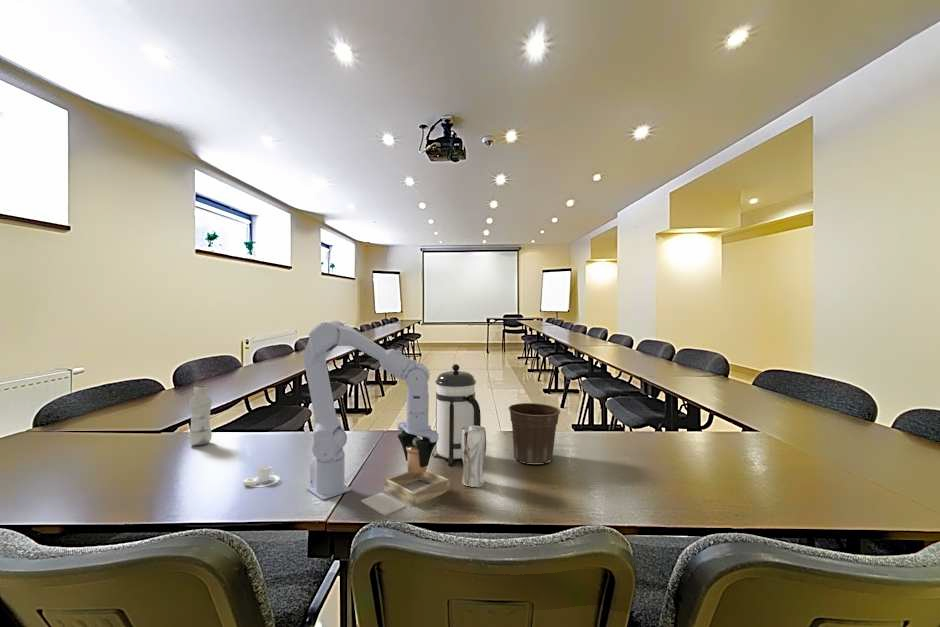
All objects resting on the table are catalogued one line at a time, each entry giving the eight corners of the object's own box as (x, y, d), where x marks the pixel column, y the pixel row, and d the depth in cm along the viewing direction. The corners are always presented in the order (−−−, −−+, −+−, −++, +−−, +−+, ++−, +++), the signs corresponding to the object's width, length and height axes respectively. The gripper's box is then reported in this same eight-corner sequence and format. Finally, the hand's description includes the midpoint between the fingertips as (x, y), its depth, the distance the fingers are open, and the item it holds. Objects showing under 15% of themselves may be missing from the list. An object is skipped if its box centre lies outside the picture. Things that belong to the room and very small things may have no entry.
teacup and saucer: (240, 490, 110) (240, 475, 110) (248, 478, 117) (248, 464, 117) (277, 487, 112) (277, 472, 112) (282, 475, 120) (282, 461, 119)
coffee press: (424, 465, 127) (424, 366, 127) (440, 447, 143) (440, 360, 142) (479, 470, 123) (480, 369, 123) (489, 452, 139) (490, 362, 138)
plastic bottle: (190, 442, 146) (190, 385, 145) (213, 440, 148) (213, 384, 148) (186, 448, 140) (186, 389, 139) (210, 446, 143) (210, 387, 142)
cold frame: (384, 490, 109) (384, 479, 109) (420, 477, 118) (420, 467, 118) (413, 506, 101) (413, 494, 101) (449, 490, 109) (449, 479, 109)
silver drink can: (471, 475, 119) (471, 423, 119) (490, 482, 115) (491, 428, 115) (455, 483, 114) (455, 429, 114) (475, 491, 110) (475, 434, 109)
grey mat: (361, 501, 103) (361, 500, 103) (381, 493, 107) (381, 492, 107) (384, 516, 96) (384, 514, 96) (405, 507, 100) (405, 505, 100)
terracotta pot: (402, 469, 109) (401, 437, 109) (418, 464, 113) (418, 432, 113) (415, 475, 105) (415, 441, 105) (432, 469, 109) (432, 437, 109)
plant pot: (556, 451, 141) (557, 403, 140) (562, 469, 124) (563, 416, 124) (508, 449, 142) (508, 402, 142) (507, 467, 126) (508, 414, 126)
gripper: (447, 413, 107) (447, 466, 107) (412, 404, 117) (411, 452, 117) (426, 418, 102) (425, 474, 102) (391, 408, 112) (390, 458, 112)
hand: (416, 463), depth 109 cm, fingers closed on terracotta pot, 5 cm apart
